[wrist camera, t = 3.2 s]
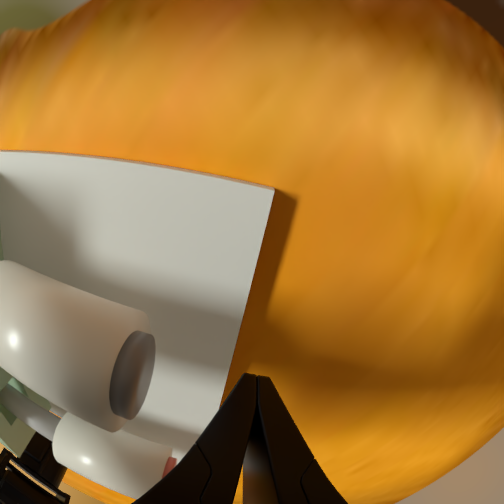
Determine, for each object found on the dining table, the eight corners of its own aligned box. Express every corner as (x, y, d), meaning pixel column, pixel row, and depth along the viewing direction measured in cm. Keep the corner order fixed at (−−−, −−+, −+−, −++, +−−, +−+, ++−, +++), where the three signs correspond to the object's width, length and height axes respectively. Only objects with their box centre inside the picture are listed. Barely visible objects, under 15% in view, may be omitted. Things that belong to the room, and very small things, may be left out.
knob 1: (-20, 286, 9) (-63, 318, 5) (-31, 220, 8) (-83, 246, 4) (160, 375, 9) (126, 457, 6) (164, 290, 8) (103, 381, 4)
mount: (203, 463, 16) (188, 537, 9) (20, 383, 15) (-15, 429, 9) (274, 187, 9) (290, 288, 2) (-25, 150, 8) (-108, 172, 2)
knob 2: (26, 393, 12) (2, 426, 9) (9, 356, 11) (-23, 391, 7) (178, 463, 13) (165, 513, 9) (180, 438, 11) (162, 500, 7)
